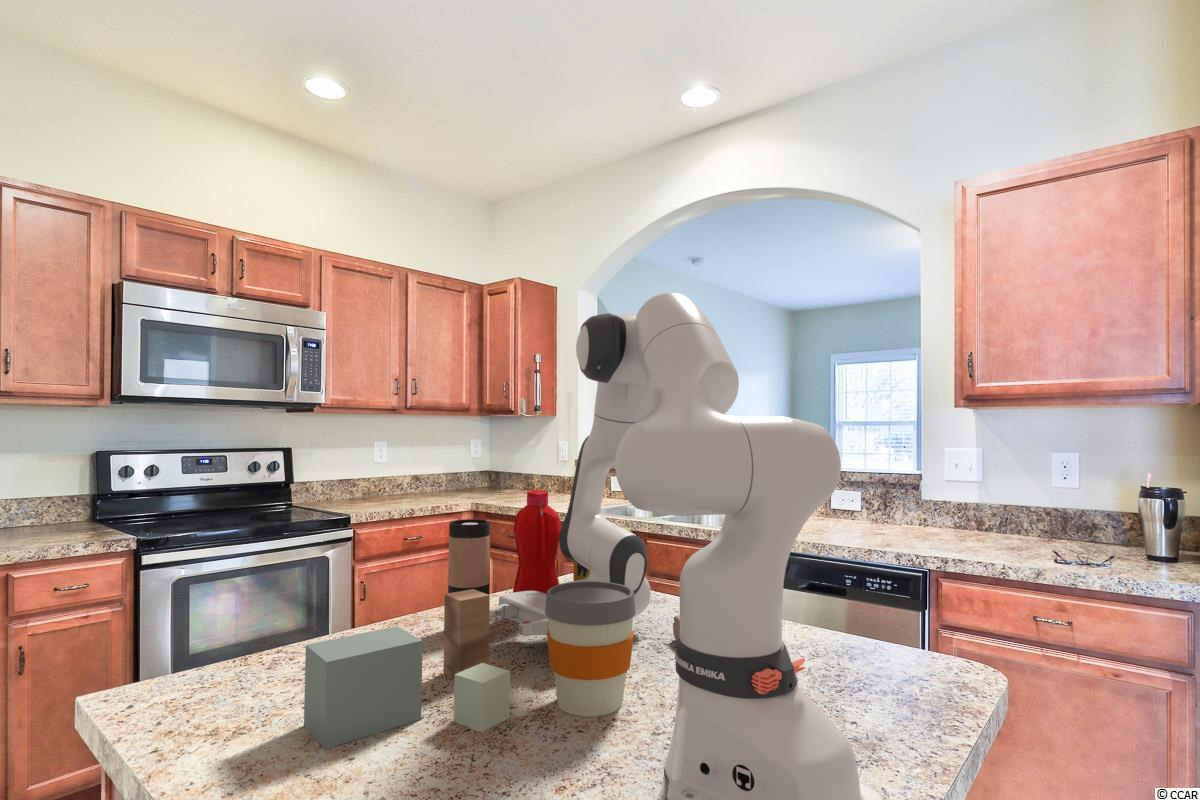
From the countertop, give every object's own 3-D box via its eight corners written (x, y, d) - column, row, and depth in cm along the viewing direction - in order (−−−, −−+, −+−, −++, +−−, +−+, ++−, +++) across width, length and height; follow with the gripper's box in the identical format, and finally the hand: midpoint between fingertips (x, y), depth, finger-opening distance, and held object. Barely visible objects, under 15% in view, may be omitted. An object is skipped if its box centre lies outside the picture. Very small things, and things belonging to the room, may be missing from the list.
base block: (421, 719, 83) (422, 640, 83) (324, 749, 75) (326, 662, 75) (395, 699, 89) (396, 626, 89) (303, 725, 81) (305, 644, 81)
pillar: (488, 674, 98) (489, 595, 98) (459, 683, 95) (460, 600, 95) (472, 665, 102) (473, 589, 102) (443, 673, 98) (444, 594, 99)
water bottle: (520, 626, 122) (521, 494, 123) (509, 610, 132) (510, 488, 134) (567, 621, 125) (567, 492, 126) (553, 607, 135) (554, 487, 137)
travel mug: (439, 634, 117) (440, 523, 118) (460, 622, 124) (461, 518, 125) (477, 638, 115) (478, 525, 116) (496, 625, 122) (497, 520, 123)
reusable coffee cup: (651, 695, 90) (651, 587, 91) (606, 731, 80) (607, 608, 80) (576, 677, 97) (576, 577, 97) (525, 708, 86) (526, 595, 87)
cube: (509, 717, 84) (510, 670, 84) (482, 732, 79) (482, 683, 80) (481, 708, 86) (482, 662, 87) (453, 722, 82) (454, 674, 82)
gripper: (538, 578, 120) (472, 590, 111) (611, 600, 104) (541, 616, 95) (538, 613, 119) (472, 627, 111) (610, 640, 104) (540, 660, 95)
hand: (504, 623), depth 103 cm, fingers open, 8 cm apart
